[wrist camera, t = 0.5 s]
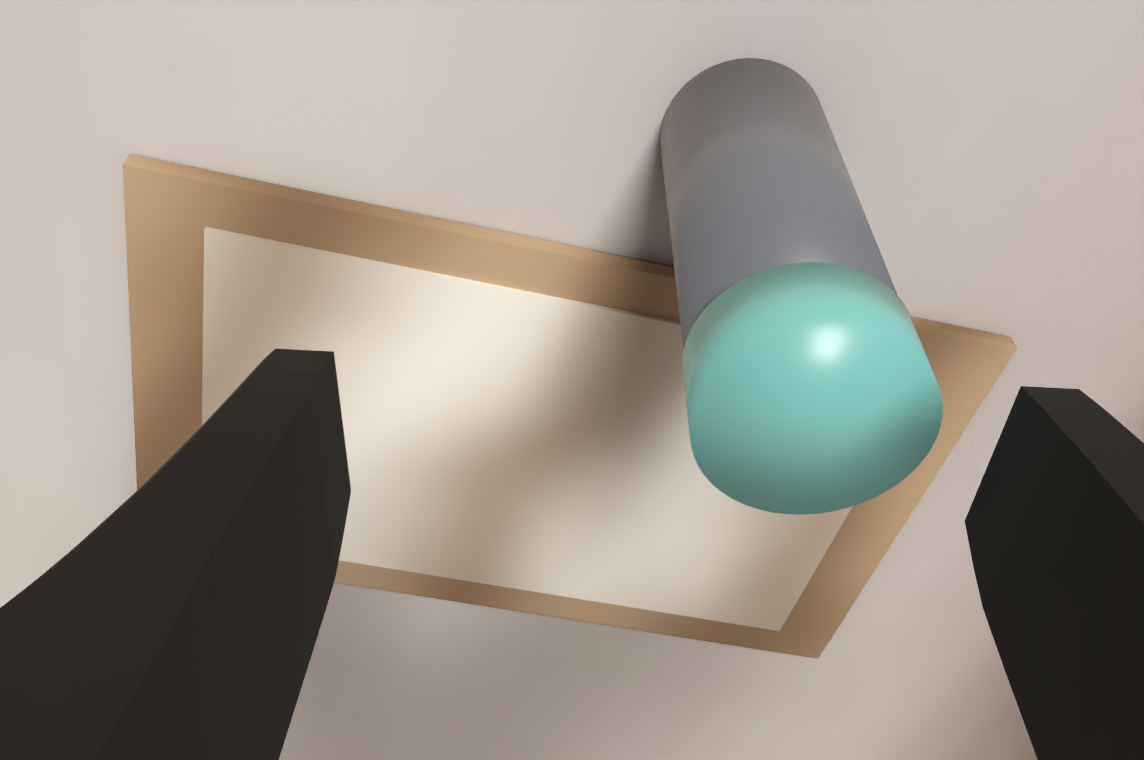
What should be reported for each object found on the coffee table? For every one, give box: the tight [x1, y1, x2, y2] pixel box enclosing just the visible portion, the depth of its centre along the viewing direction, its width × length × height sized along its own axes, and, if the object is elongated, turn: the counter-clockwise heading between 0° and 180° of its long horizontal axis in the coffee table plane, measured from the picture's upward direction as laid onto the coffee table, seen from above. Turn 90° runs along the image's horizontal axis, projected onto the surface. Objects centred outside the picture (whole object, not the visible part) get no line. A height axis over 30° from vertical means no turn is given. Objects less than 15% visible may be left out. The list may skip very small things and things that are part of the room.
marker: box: [660, 58, 943, 515], centre depth 16 cm, size 3×3×8 cm
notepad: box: [123, 154, 1017, 658], centre depth 24 cm, size 18×11×1 cm, turn 77°
